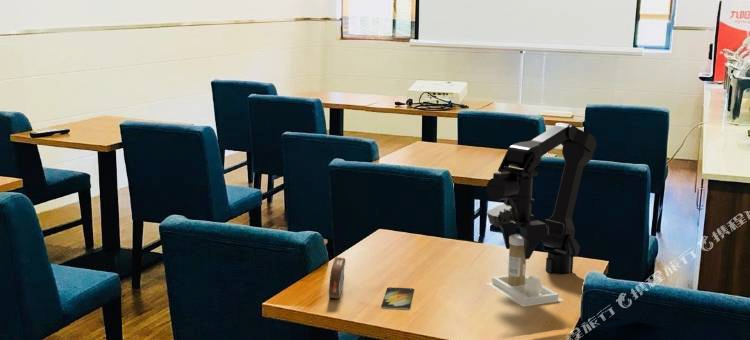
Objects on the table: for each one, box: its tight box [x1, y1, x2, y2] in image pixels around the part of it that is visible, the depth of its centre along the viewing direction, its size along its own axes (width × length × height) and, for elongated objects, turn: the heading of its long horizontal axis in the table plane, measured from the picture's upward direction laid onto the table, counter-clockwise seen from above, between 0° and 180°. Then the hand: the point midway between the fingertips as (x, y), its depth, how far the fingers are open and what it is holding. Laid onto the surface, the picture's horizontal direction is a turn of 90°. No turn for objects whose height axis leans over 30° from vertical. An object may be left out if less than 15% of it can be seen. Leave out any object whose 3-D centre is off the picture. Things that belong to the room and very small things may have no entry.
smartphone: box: [380, 286, 415, 311], centre depth 213 cm, size 7×1×15 cm
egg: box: [524, 275, 543, 297], centre depth 212 cm, size 4×4×5 cm
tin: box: [328, 256, 346, 299], centre depth 216 cm, size 15×3×8 cm, turn 176°
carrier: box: [486, 274, 565, 307], centre depth 216 cm, size 12×18×3 cm, turn 22°
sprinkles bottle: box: [507, 233, 527, 286], centre depth 218 cm, size 5×5×14 cm
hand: (517, 253), depth 218 cm, fingers open, 9 cm apart
